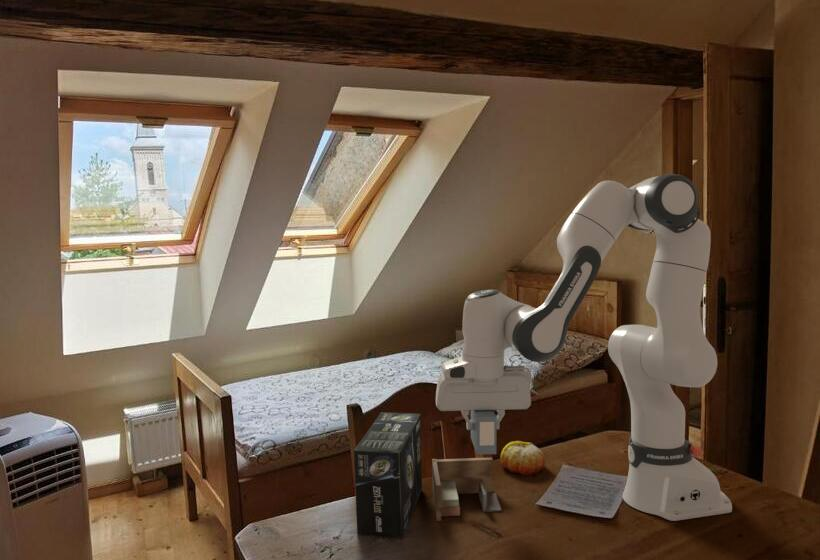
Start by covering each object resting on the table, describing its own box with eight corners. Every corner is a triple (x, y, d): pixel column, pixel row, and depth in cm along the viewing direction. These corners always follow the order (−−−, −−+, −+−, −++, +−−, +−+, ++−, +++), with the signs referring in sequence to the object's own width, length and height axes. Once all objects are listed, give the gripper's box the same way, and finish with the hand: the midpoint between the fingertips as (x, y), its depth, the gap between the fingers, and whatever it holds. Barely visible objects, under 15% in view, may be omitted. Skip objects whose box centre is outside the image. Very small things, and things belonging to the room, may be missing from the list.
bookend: (495, 494, 150) (495, 478, 150) (501, 511, 142) (501, 493, 142) (478, 495, 150) (478, 478, 150) (483, 511, 142) (483, 494, 142)
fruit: (500, 476, 159) (499, 442, 160) (500, 471, 169) (499, 439, 171) (547, 476, 158) (545, 442, 159) (544, 471, 168) (543, 439, 169)
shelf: (491, 489, 153) (491, 456, 152) (501, 518, 139) (501, 482, 138) (432, 491, 153) (431, 459, 152) (436, 520, 139) (435, 485, 138)
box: (403, 540, 131) (400, 450, 129) (356, 536, 133) (352, 448, 131) (423, 489, 154) (421, 412, 151) (382, 487, 156) (380, 410, 153)
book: (488, 436, 145) (488, 402, 144) (496, 454, 135) (496, 417, 134) (470, 437, 145) (470, 402, 144) (477, 454, 135) (477, 417, 134)
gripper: (528, 361, 142) (527, 422, 143) (434, 363, 141) (435, 425, 142) (534, 368, 135) (534, 432, 137) (437, 370, 135) (437, 435, 136)
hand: (482, 428), depth 140 cm, fingers closed on book, 4 cm apart
